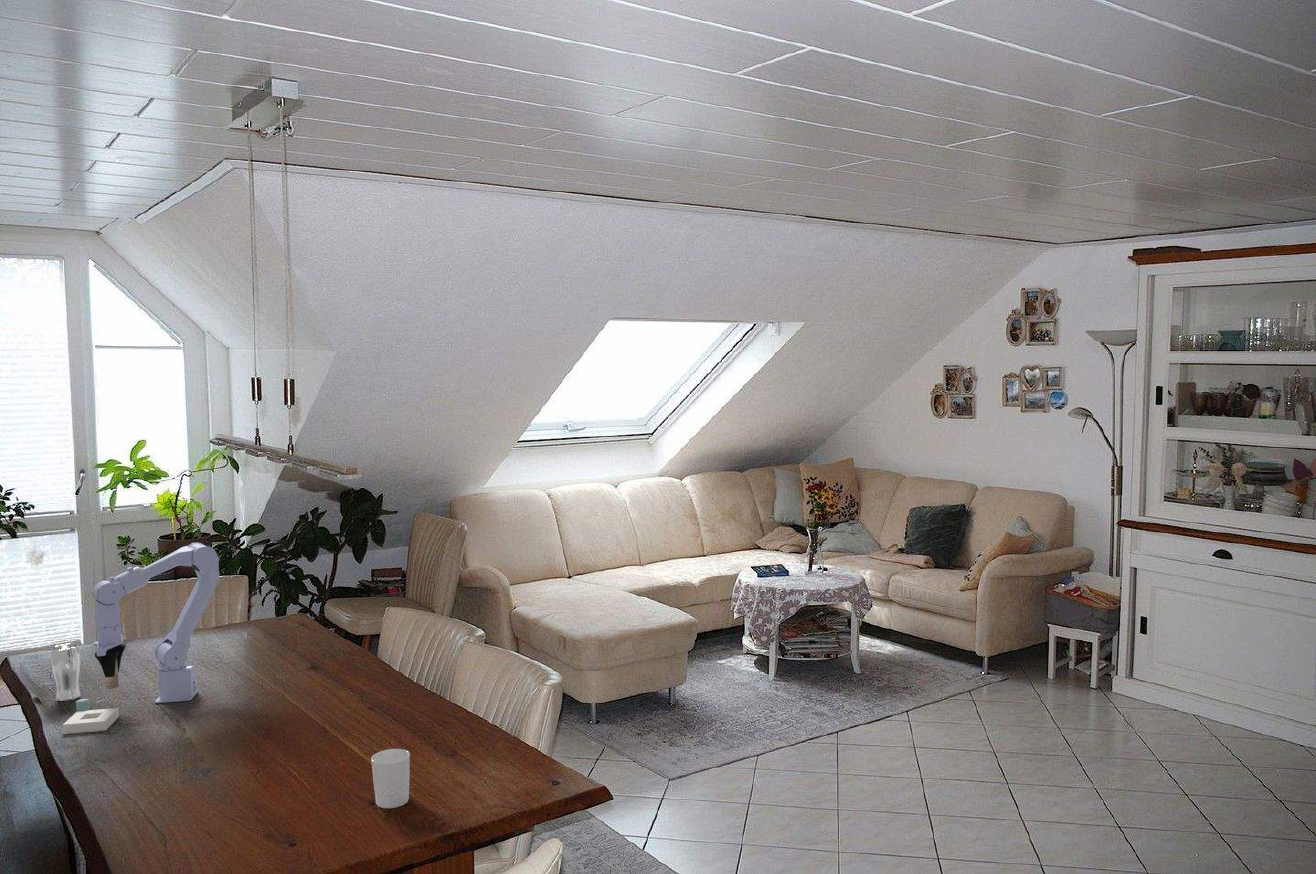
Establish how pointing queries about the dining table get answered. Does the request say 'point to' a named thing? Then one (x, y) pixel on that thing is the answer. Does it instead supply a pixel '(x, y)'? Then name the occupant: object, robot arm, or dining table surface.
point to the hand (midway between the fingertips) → (112, 674)
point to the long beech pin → (113, 680)
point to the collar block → (90, 721)
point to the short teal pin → (82, 705)
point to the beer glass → (66, 671)
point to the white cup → (391, 777)
